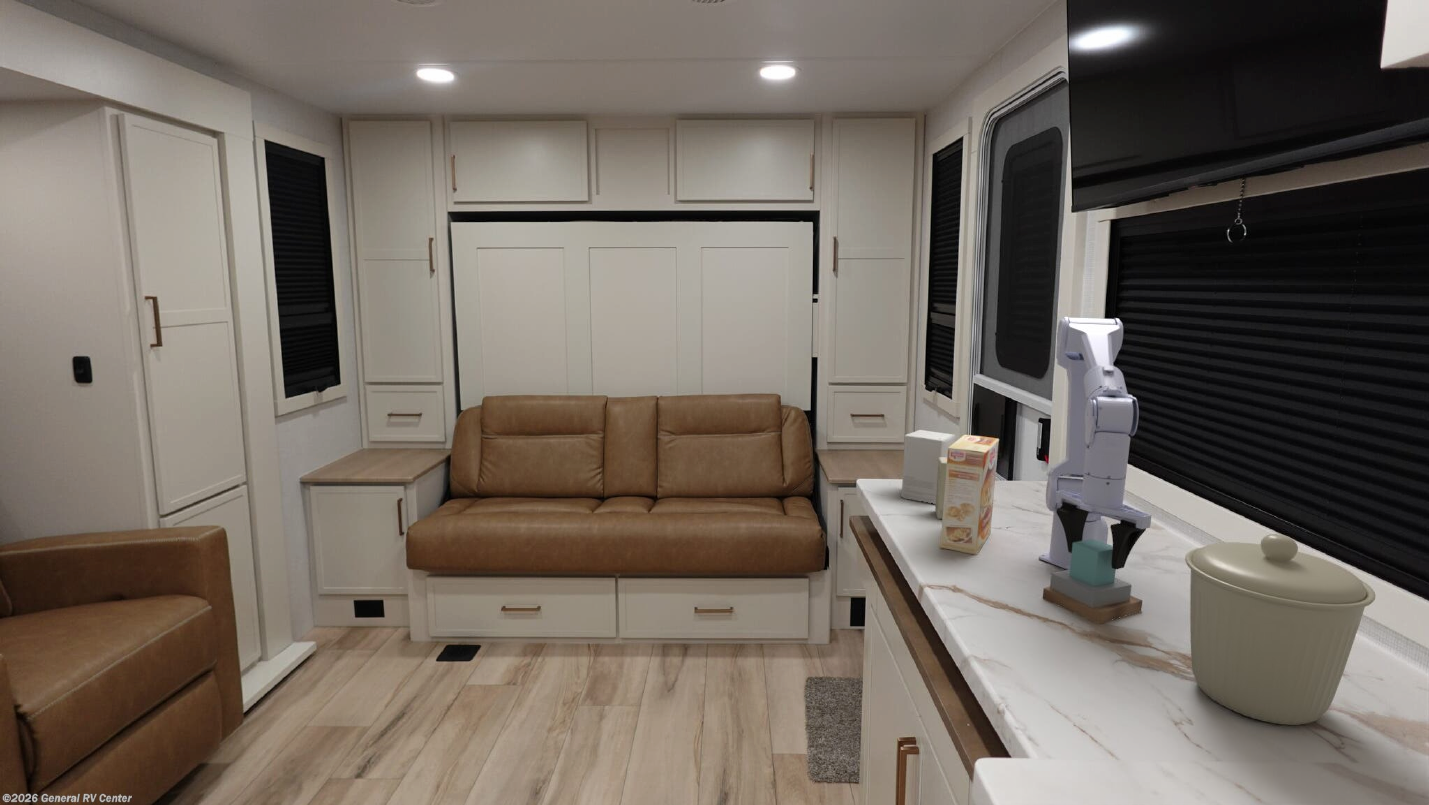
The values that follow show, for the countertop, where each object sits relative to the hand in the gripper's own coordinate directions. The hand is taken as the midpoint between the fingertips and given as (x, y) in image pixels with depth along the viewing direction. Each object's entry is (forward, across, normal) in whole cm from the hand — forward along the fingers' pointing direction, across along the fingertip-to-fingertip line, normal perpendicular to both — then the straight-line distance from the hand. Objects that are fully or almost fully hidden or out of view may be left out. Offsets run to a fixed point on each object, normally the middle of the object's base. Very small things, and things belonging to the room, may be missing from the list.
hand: (1095, 559), depth 118 cm
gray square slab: (+6, 0, 0) cm, 6 cm away
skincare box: (+8, -43, +13) cm, 46 cm away
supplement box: (+8, -55, +19) cm, 59 cm away
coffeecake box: (+8, -30, +5) cm, 31 cm away
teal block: (+3, 0, 0) cm, 3 cm away
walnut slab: (+8, 0, 0) cm, 8 cm away
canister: (+8, +27, -7) cm, 29 cm away
